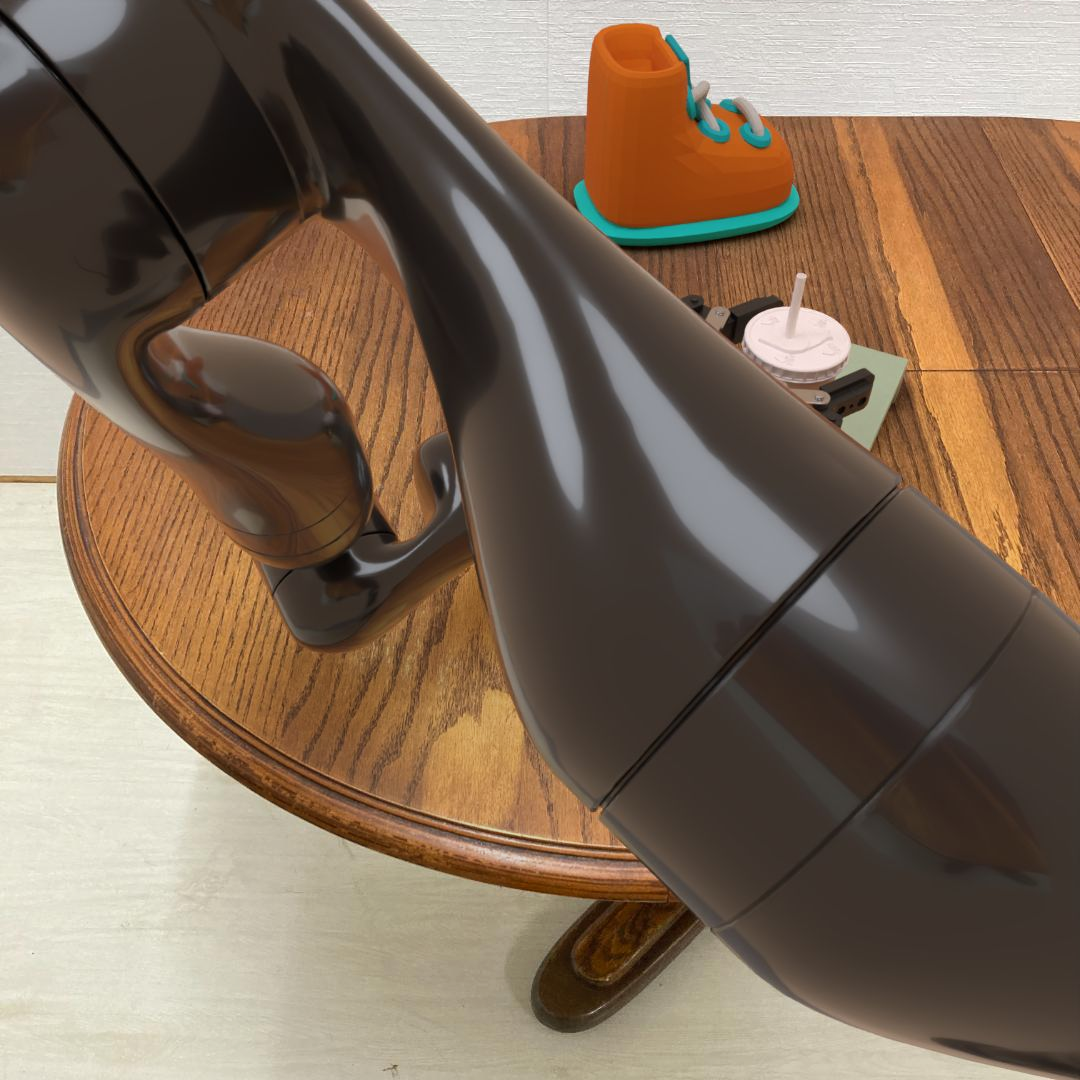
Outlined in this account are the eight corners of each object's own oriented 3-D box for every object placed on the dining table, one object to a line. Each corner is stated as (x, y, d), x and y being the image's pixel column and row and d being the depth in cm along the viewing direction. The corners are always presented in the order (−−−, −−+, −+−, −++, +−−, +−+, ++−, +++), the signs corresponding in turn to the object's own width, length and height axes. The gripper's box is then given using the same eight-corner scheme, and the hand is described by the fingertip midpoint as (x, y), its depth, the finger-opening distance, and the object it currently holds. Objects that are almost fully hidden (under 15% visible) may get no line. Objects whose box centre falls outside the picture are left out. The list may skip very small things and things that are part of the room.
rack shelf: (828, 553, 71) (838, 521, 69) (669, 498, 75) (673, 466, 72) (899, 391, 82) (909, 359, 80) (757, 349, 85) (763, 317, 83)
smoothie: (713, 426, 75) (742, 247, 65) (806, 419, 75) (849, 240, 65) (735, 493, 71) (770, 312, 60) (833, 485, 71) (884, 305, 61)
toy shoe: (815, 232, 96) (851, 61, 85) (597, 261, 93) (605, 88, 82) (764, 163, 104) (792, -2, 93) (562, 188, 101) (565, 20, 90)
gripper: (678, 465, 55) (920, 359, 61) (532, 316, 63) (757, 235, 69) (665, 564, 61) (888, 459, 66) (533, 415, 69) (741, 333, 75)
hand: (821, 345), depth 68 cm, fingers open, 8 cm apart
